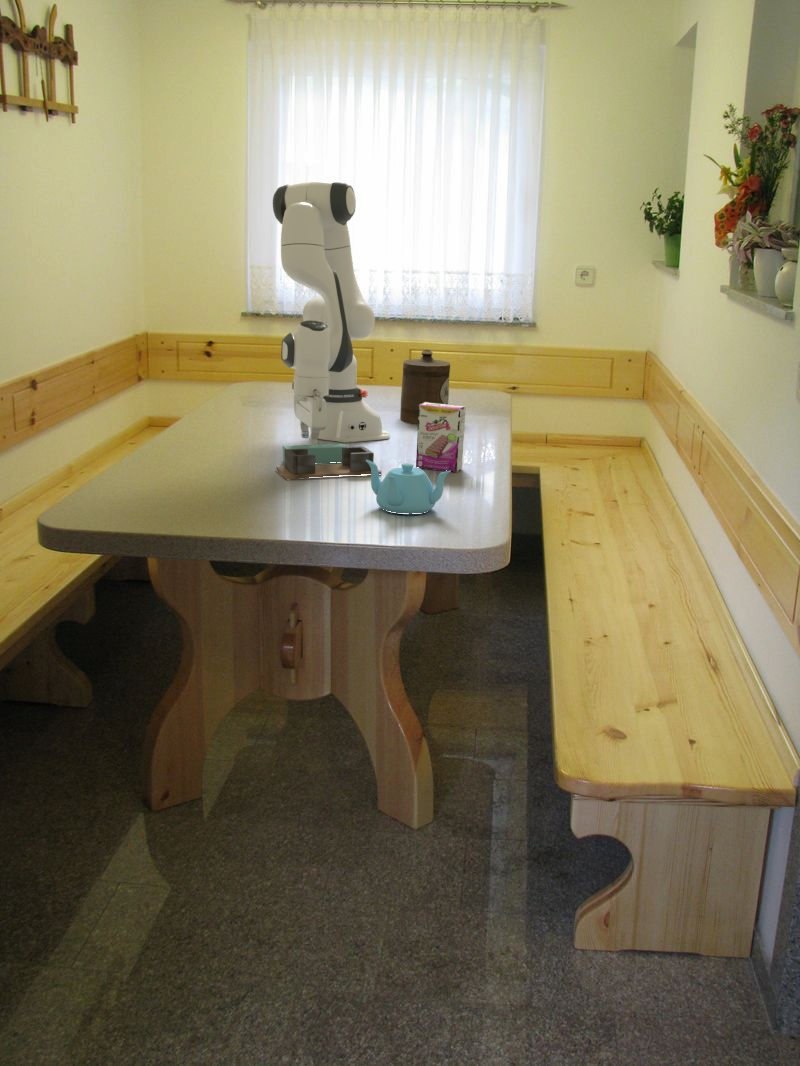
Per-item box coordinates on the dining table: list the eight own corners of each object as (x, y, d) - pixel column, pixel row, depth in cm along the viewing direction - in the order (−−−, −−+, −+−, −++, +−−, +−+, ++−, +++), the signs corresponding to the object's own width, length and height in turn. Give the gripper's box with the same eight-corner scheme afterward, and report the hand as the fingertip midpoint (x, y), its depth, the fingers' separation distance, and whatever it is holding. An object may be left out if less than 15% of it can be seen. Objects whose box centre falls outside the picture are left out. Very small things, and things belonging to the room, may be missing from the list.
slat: (342, 460, 288) (343, 443, 286) (347, 463, 284) (347, 446, 283) (282, 463, 282) (283, 445, 281) (286, 466, 279) (286, 449, 277)
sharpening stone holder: (368, 466, 281) (368, 445, 279) (381, 475, 272) (382, 453, 270) (276, 470, 273) (276, 448, 271) (286, 480, 264) (286, 457, 262)
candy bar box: (415, 468, 281) (417, 404, 276) (421, 464, 285) (423, 401, 281) (457, 473, 277) (460, 408, 273) (462, 469, 282) (466, 405, 277)
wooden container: (453, 424, 341) (457, 352, 335) (408, 425, 337) (411, 352, 331) (438, 415, 355) (442, 346, 349) (394, 416, 351) (397, 346, 344)
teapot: (424, 499, 251) (426, 455, 248) (451, 516, 238) (453, 470, 235) (363, 503, 246) (365, 458, 243) (387, 521, 233) (389, 473, 230)
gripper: (333, 393, 269) (331, 449, 272) (314, 381, 287) (312, 434, 291) (308, 393, 267) (306, 449, 270) (290, 381, 286) (288, 434, 289)
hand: (309, 441), depth 281 cm, fingers open, 8 cm apart
